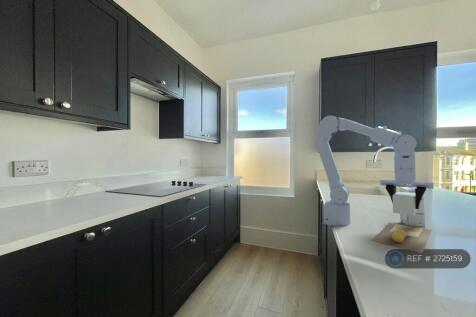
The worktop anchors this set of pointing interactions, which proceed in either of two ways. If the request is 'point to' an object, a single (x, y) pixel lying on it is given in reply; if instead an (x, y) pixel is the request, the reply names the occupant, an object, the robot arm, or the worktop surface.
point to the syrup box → (420, 215)
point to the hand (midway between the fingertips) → (405, 207)
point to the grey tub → (404, 203)
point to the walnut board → (413, 240)
